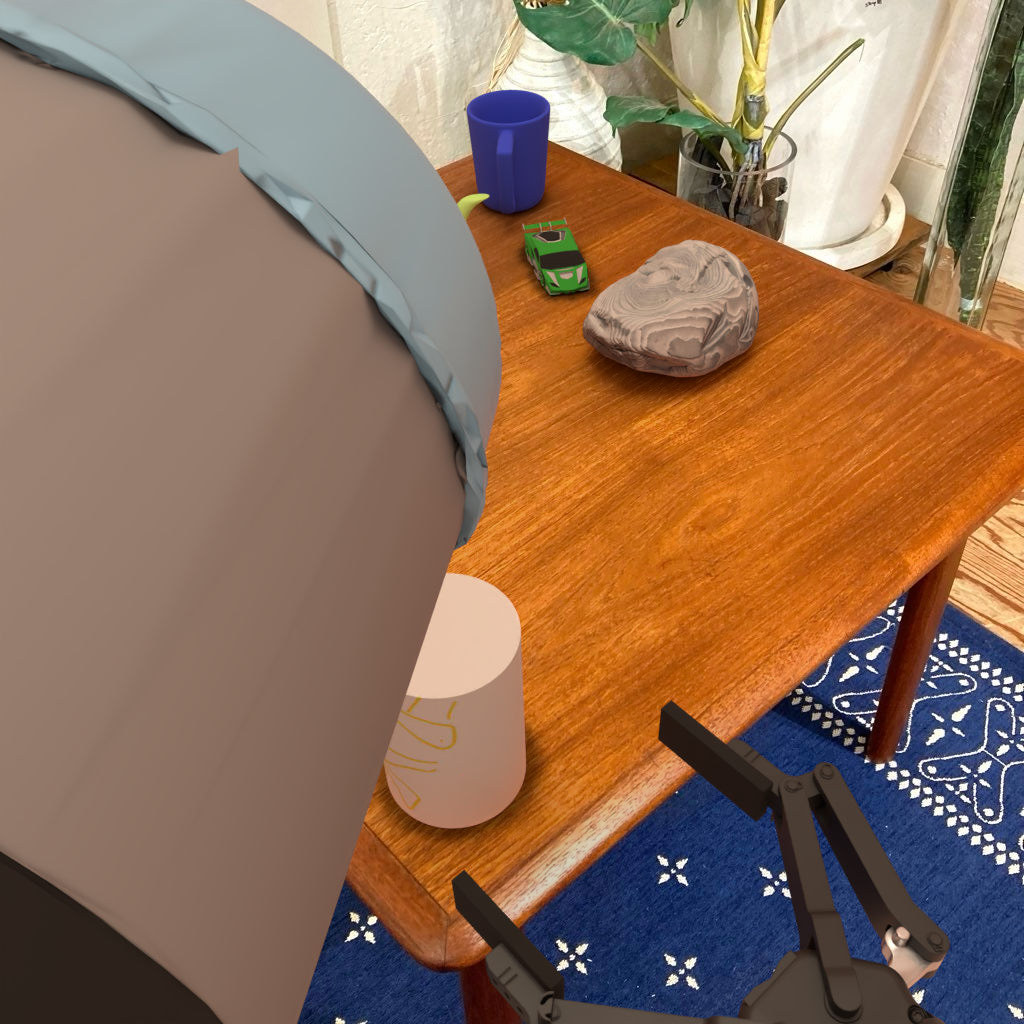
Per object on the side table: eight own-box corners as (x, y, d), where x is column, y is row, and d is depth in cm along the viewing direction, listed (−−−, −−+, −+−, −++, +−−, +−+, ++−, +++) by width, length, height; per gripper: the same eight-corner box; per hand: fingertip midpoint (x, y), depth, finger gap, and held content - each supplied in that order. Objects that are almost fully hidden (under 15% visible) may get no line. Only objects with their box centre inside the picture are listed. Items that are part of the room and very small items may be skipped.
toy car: (595, 291, 98) (595, 269, 96) (545, 299, 97) (545, 277, 96) (567, 237, 105) (567, 216, 103) (520, 244, 104) (519, 223, 103)
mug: (465, 239, 105) (459, 143, 99) (475, 182, 114) (469, 89, 107) (548, 239, 105) (548, 142, 98) (551, 181, 114) (551, 88, 107)
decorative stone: (584, 371, 84) (606, 242, 80) (568, 332, 96) (586, 218, 93) (764, 394, 85) (794, 268, 81) (725, 352, 98) (749, 241, 94)
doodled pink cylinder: (360, 754, 63) (329, 622, 55) (472, 685, 66) (460, 550, 58) (437, 855, 58) (416, 727, 50) (554, 775, 62) (553, 642, 53)
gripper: (730, 1476, 37) (369, 1008, 49) (1093, 984, 48) (729, 701, 60) (757, 1452, 32) (345, 934, 44) (1156, 907, 43) (744, 614, 55)
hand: (567, 798), depth 52 cm, fingers open, 13 cm apart
